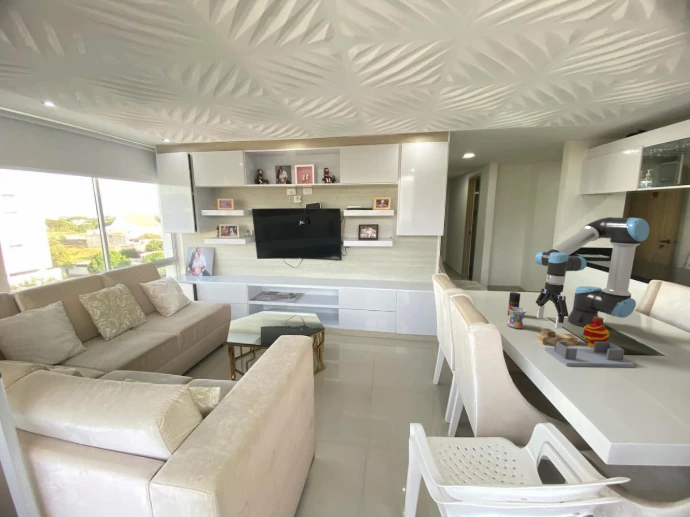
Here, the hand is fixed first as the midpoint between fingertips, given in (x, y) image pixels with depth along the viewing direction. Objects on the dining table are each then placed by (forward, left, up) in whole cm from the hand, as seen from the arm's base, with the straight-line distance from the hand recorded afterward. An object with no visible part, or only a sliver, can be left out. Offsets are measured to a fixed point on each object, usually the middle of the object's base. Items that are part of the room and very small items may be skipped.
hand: (548, 322), depth 144 cm
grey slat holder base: (-8, +16, -11) cm, 21 cm away
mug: (+4, -21, -11) cm, 24 cm away
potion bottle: (-22, +3, -11) cm, 25 cm away
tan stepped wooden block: (-5, 0, -11) cm, 12 cm away
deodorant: (-4, -38, -11) cm, 40 cm away
